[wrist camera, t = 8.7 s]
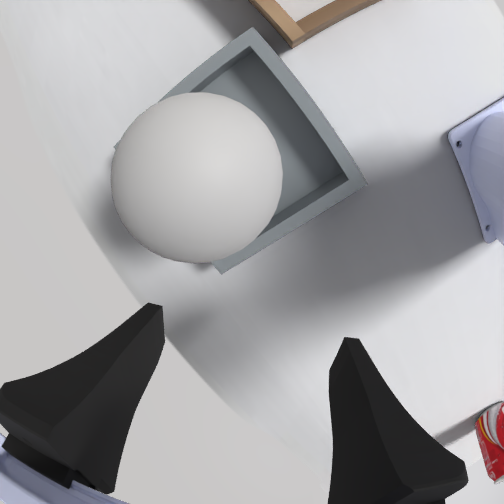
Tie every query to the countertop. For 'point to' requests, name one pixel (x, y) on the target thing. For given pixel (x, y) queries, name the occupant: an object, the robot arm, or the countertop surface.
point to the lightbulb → (196, 177)
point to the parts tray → (279, 134)
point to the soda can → (492, 440)
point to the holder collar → (307, 18)
